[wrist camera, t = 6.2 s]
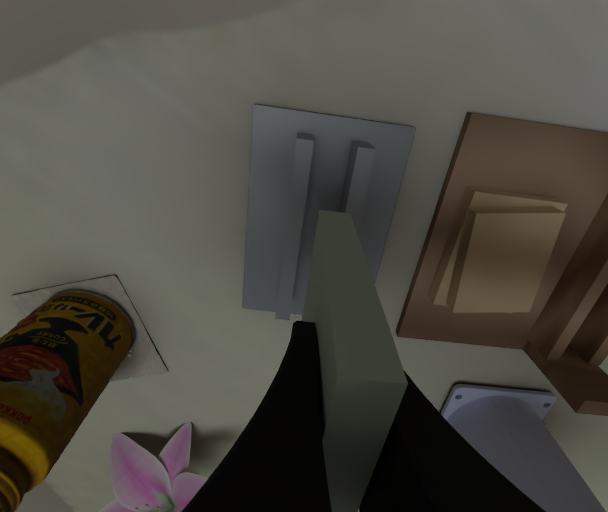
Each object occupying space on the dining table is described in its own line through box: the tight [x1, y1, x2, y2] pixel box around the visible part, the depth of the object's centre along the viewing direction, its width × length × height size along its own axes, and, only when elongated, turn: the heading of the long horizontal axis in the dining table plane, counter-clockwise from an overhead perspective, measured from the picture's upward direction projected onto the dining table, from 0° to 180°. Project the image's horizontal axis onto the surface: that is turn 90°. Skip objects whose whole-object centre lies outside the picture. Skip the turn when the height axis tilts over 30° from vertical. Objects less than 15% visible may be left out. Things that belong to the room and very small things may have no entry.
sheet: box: [302, 210, 408, 512], centre depth 11 cm, size 6×1×8 cm, turn 173°
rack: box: [396, 112, 608, 416], centre depth 18 cm, size 14×14×6 cm
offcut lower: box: [428, 186, 568, 313], centre depth 19 cm, size 7×5×1 cm
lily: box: [98, 422, 208, 512], centre depth 26 cm, size 12×12×10 cm
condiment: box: [0, 275, 168, 512], centre depth 18 cm, size 7×8×12 cm
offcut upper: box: [446, 206, 566, 313], centre depth 18 cm, size 6×4×1 cm
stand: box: [242, 104, 416, 320], centre depth 18 cm, size 12×8×2 cm, turn 173°
